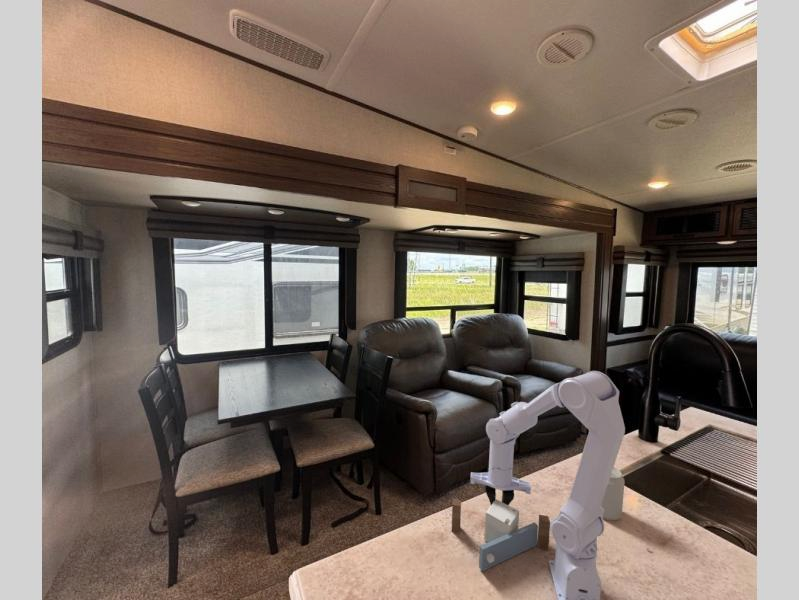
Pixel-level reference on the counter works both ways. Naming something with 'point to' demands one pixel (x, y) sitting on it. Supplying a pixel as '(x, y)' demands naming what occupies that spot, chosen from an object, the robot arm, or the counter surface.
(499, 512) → the skincare box
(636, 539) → the counter surface
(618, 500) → the can
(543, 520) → the door frame
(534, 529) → the door leaf
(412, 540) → the counter surface
